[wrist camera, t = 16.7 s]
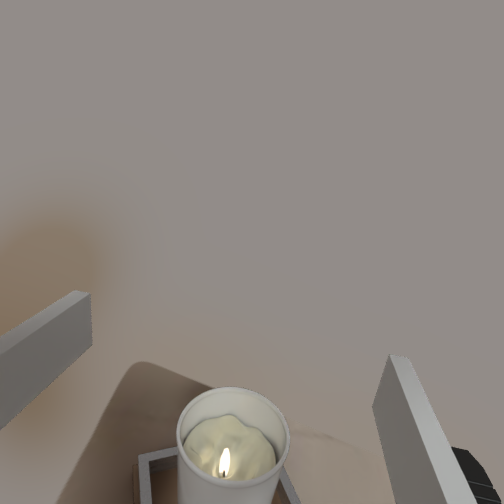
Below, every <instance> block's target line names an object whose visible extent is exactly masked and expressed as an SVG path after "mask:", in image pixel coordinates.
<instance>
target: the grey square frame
mask: <svg viewBox="0 0 504 504" xmlns="http://www.w3.org/2000/svg"><path fill="white" fill-rule="evenodd" d="M172 468H177V446H176V447H172V448H167V449H163V450H158V451H154V452H149V453H145V454H140V455H138V480H139V499H140V504H152V496H151V485H150V474H152V473H156V472H160V471H164V470H168V469H172ZM276 490H277V493H278V495H279V498H280V500H281V502H282V504H301V502H300V500H299V498H298V496H297V494H296V492H295V490H294V487H293V485H292V483H291V481H290V479H289V477H288V475H287V473H286V471H285V468H284V466H283V468H282V471H281V474H280V477H279V481H278V484H277V487H276Z"/></svg>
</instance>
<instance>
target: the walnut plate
mask: <svg viewBox="0 0 504 504" xmlns="http://www.w3.org/2000/svg"><path fill="white" fill-rule="evenodd" d="M150 485H151V496H152V504H177V468H172V469H168V470H164V471H160V472H156V473H152V474H150ZM133 490H134V504H140V499H139V480H138V464H136V465H133ZM271 504H282V502H281V500H280V498H279V495H278V493H277V490H275V494H274V497H273V500H272V503H271Z"/></svg>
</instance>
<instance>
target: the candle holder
mask: <svg viewBox="0 0 504 504" xmlns="http://www.w3.org/2000/svg"><path fill="white" fill-rule="evenodd" d="M176 441H177V504H271V503H272V500H273V497H274V494H275V490H276V487H277V484H278V481H279V477H280V474H281V471H282V468H283V464H284V462H285V460H286V457H287V455H288V451H289V447H290V432H289V427H288V424H287V422H286V419H285V417H284V416H283V414H282V413H281V411H280V410H279V409H278V407H276V405H275V404H274V403H272V402H271V401H270V400H269V399H267V398H266V397H265V396H263V395H261V394H259V393H257V392H254V391H252V390H249V389H245V388H240V387H220V388H215V389H211V390H208V391H206V392H204V393H202V394H200V395H198V396H197V397H195V398H194V399H193V400H191V401H190V402H189V403H188V404H187V406H186V407H185V408H184V410H183V411H182V413H181V415H180V417H179V420H178V423H177V429H176Z"/></svg>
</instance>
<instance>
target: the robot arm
mask: <svg viewBox="0 0 504 504" xmlns="http://www.w3.org/2000/svg"><path fill="white" fill-rule="evenodd" d="M90 297H91V295H90V293H86V292H81V291H77V290H74V291H73V292H71V293H70V294H68V295H66V296H65V297H63V298H61V299H60V300H58V301H57V302H55V303H54V304H52V305H50V306H49V307H47V308H45V309H44V310H42V311H41V312H39V313H37V314H36V315H34V316H33V317H31V318H29V319H28V320H27V321H25V322H23V323H21V324H20V325H18V326H17V327H15V328H14V329H12V330H10V331H9V332H7V333H6V334H4V335H2V336H1V337H0V430H1V429H2V428H3V427H5V426H6V425H7V424H8V423H9V422H10V421H11V420H12V419H13V418H14V417H15V416H16V415H17V414H19V413H20V412H21V411H22V410H23V409H24V408H25V407H26V406H27V405H28V404H29V403H30V402H31V401H33V400H34V399H35V398H36V397H37V396H38V395H39V394H40V393H41V392H42V391H43V390H44V389H45V388H47V387H48V386H49V385H50V384H51V383H52V382H53V381H54V380H55V379H56V378H57V377H58V376H59V375H60V374H62V373H63V372H64V371H65V370H66V369H67V368H68V367H69V366H70V365H71V364H72V363H73V362H74V361H76V360H77V359H78V358H79V357H80V356H81V355H82V354H83V353H84V352H85V351H86V350H87V349H88V348H89V347H90V346H92V322H91V298H90ZM372 408H373V412H374V416H375V421H376V425H377V429H378V433H379V437H380V441H381V445H382V449H383V453H384V457H385V461H386V466H387V470H388V474H389V478H390V482H391V486H392V490H393V494H394V498H395V502H396V504H501V500H500V498H499V496H498V494H497V492H496V490H495V489H493V485H492V483H491V481H490V479H489V478H488V476H487V474H486V472H485V470H484V469H483V467H482V466H481V465H480V464H479V462H478V461H477V460H476V459H475V458H474V457H473V456H472V455H471V454H470V453H469V451H468V450H463V449H459V448H455V447H450V445H449V443H448V440H447V438H446V436H445V434H444V432H443V430H442V428H441V426H440V423H439V421H438V419H437V417H436V415H435V413H434V411H433V409H432V407H431V405H430V402H429V400H428V398H427V396H426V394H425V392H424V390H423V388H422V385H421V383H420V381H419V379H418V377H417V375H416V373H415V371H414V369H413V366H412V364H411V362H410V360H409V358H406V357H401V356H396V355H391V354H389V356H388V359H387V362H386V365H385V369H384V372H383V374H382V378H381V381H380V384H379V387H378V390H377V393H376V396H375V399H374V403H373V406H372Z"/></svg>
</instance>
